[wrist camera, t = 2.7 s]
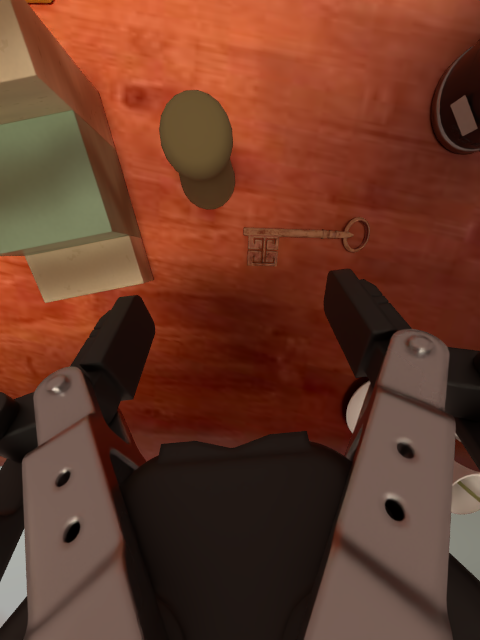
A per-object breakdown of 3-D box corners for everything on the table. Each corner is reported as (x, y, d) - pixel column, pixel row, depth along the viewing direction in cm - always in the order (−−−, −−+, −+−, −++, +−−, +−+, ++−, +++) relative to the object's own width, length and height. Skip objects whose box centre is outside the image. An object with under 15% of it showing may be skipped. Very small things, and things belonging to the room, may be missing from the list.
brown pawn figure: (173, 194, 26) (134, 152, 15) (192, 137, 24) (164, 47, 14) (222, 218, 27) (218, 194, 16) (243, 164, 25) (254, 99, 15)
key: (242, 264, 28) (360, 267, 29) (242, 265, 28) (364, 268, 28) (244, 213, 26) (370, 217, 27) (244, 212, 26) (375, 217, 26)
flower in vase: (325, 405, 34) (552, 757, 10) (386, 354, 32) (837, 635, 8) (376, 452, 37) (647, 813, 13) (435, 407, 35) (876, 731, 11)
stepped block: (153, 280, 28) (111, 293, 18) (66, 297, 28) (-24, 320, 18) (99, 92, 23) (-2, -34, 13) (-8, 114, 23) (-190, 5, 13)
